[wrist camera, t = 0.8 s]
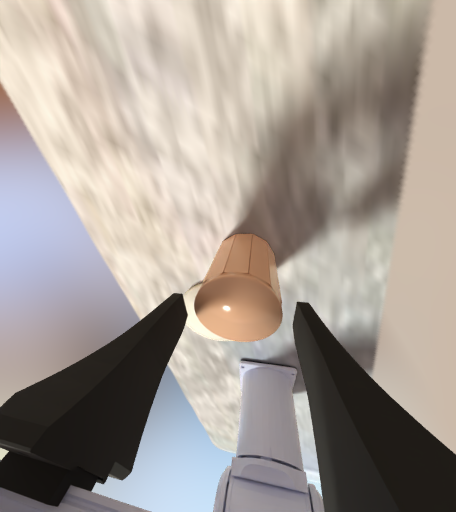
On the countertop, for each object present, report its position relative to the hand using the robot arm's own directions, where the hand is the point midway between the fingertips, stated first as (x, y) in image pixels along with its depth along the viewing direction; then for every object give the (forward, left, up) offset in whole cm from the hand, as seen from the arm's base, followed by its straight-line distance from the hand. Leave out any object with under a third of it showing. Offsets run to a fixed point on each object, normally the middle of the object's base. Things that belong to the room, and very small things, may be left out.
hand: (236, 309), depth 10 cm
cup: (0, 0, -6) cm, 6 cm away
